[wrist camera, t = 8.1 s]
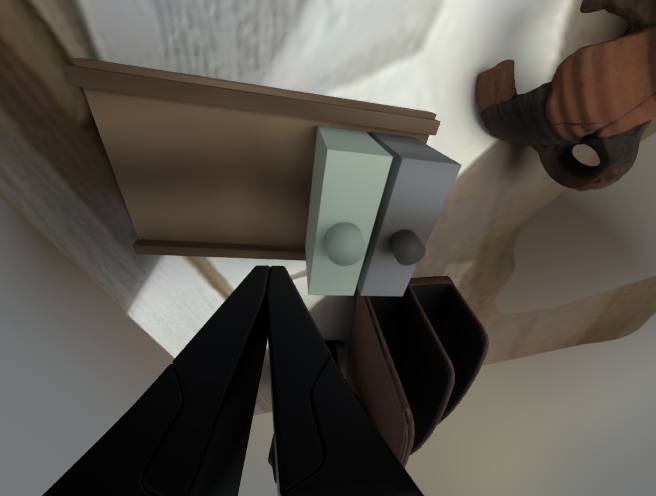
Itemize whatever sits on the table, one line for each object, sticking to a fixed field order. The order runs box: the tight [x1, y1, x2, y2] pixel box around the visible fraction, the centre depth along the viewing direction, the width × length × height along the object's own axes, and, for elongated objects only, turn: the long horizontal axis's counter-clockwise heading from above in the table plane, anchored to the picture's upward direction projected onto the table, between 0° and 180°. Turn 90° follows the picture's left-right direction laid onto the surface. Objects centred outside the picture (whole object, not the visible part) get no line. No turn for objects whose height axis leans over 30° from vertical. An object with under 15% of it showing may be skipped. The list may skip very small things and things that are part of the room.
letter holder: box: [346, 276, 489, 468], centre depth 26 cm, size 10×20×14 cm, turn 179°
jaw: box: [305, 125, 393, 296], centre depth 15 cm, size 9×3×7 cm, turn 172°
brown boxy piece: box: [63, 58, 461, 296], centre depth 15 cm, size 12×20×8 cm, turn 82°
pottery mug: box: [477, 0, 656, 191], centre depth 14 cm, size 12×9×8 cm
